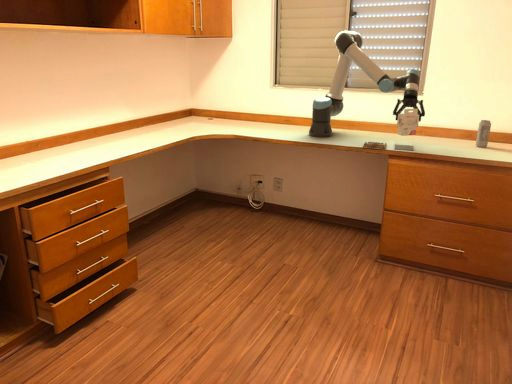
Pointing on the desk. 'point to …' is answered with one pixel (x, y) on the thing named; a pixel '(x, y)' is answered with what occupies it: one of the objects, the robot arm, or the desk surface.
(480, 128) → the grey tall block
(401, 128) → the ink cartridge box
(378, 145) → the holder
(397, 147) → the mat
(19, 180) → the desk surface
